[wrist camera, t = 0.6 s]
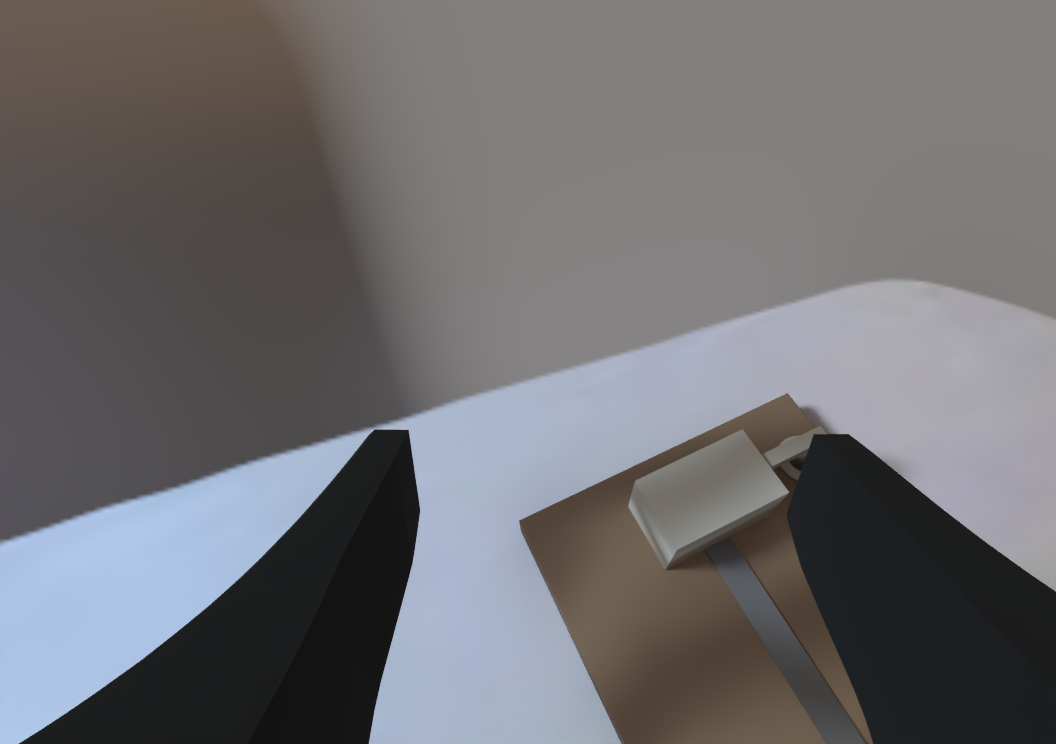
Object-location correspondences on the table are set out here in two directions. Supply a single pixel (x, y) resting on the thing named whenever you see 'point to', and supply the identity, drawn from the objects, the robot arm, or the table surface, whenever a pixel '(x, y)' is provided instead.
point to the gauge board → (700, 593)
